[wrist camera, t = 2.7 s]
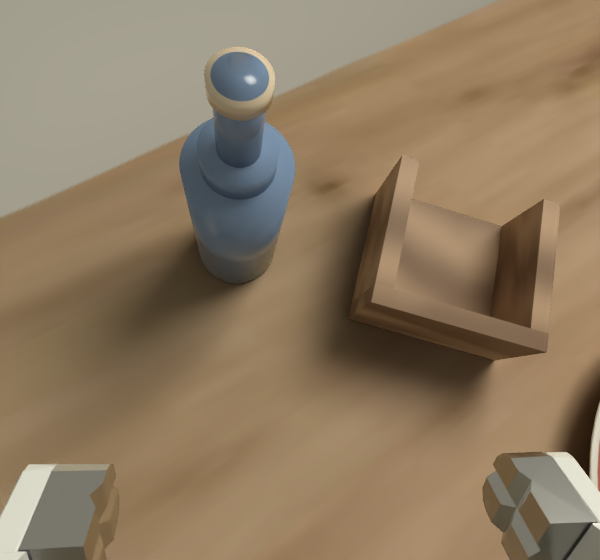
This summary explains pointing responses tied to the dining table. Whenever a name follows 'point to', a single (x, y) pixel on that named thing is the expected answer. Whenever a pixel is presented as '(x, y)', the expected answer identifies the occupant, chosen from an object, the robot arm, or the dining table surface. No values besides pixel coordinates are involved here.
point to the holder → (456, 273)
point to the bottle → (237, 169)
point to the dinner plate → (595, 452)
